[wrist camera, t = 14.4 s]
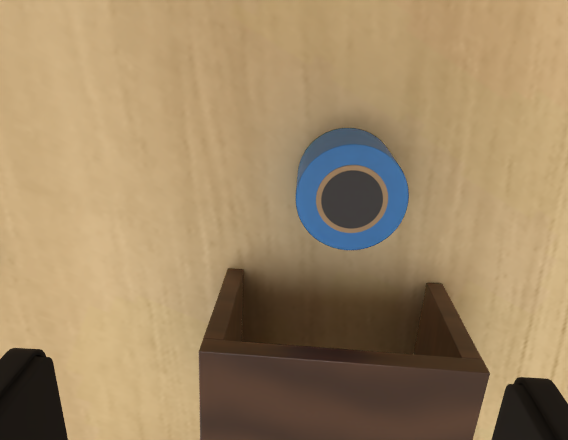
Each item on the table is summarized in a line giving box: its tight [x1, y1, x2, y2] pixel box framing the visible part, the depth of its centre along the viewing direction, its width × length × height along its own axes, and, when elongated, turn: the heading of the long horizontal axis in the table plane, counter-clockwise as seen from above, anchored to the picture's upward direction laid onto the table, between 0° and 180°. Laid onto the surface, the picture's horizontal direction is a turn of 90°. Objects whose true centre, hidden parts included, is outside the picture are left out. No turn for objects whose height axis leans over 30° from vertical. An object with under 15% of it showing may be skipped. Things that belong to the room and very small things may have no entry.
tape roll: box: [296, 128, 409, 250], centre depth 30 cm, size 7×7×5 cm
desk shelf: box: [199, 269, 490, 440], centre depth 32 cm, size 12×16×12 cm
